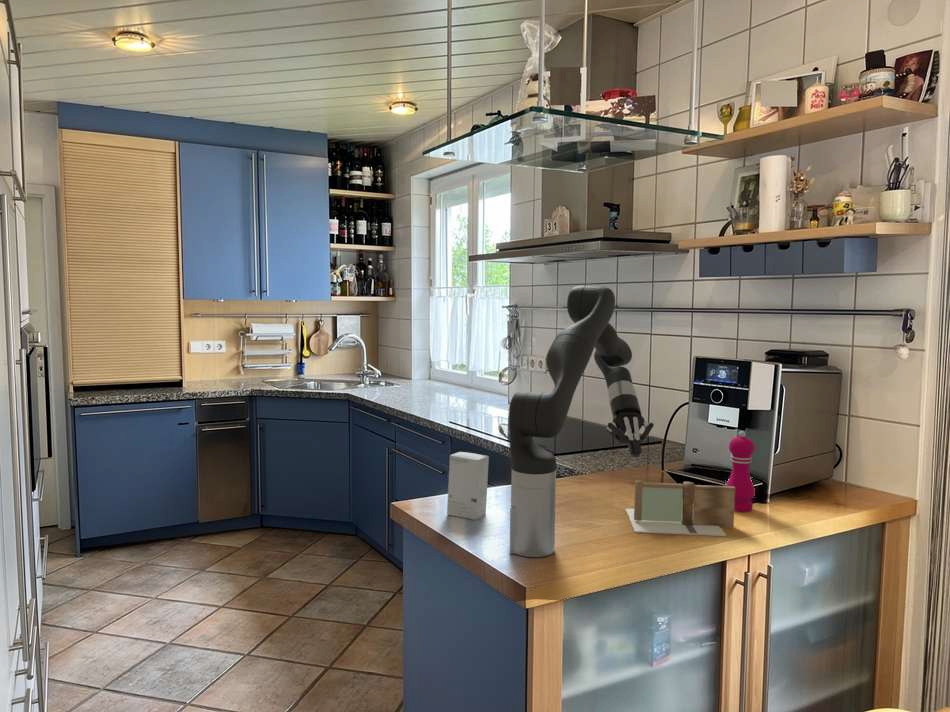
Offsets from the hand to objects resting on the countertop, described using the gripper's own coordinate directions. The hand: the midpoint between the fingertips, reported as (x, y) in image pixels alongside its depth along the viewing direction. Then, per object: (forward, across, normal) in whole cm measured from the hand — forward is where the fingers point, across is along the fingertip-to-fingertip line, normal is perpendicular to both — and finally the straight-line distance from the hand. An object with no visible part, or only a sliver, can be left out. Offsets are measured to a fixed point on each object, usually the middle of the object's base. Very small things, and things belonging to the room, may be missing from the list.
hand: (636, 455), depth 174 cm
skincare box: (+14, -44, +5) cm, 46 cm away
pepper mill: (+12, +26, +6) cm, 29 cm away
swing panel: (+19, +1, -2) cm, 19 cm away
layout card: (+19, +5, -1) cm, 20 cm away
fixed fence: (+21, +12, -3) cm, 25 cm away
